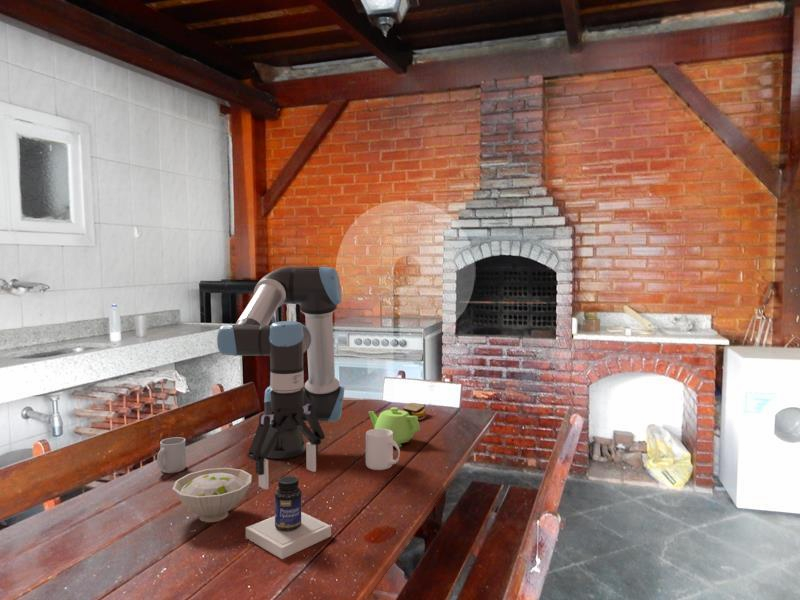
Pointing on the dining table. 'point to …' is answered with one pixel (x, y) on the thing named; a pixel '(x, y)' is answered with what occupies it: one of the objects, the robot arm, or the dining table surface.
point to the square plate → (288, 535)
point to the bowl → (212, 491)
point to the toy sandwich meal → (415, 410)
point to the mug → (380, 449)
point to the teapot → (396, 424)
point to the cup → (172, 455)
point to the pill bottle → (288, 504)
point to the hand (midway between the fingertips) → (288, 478)
